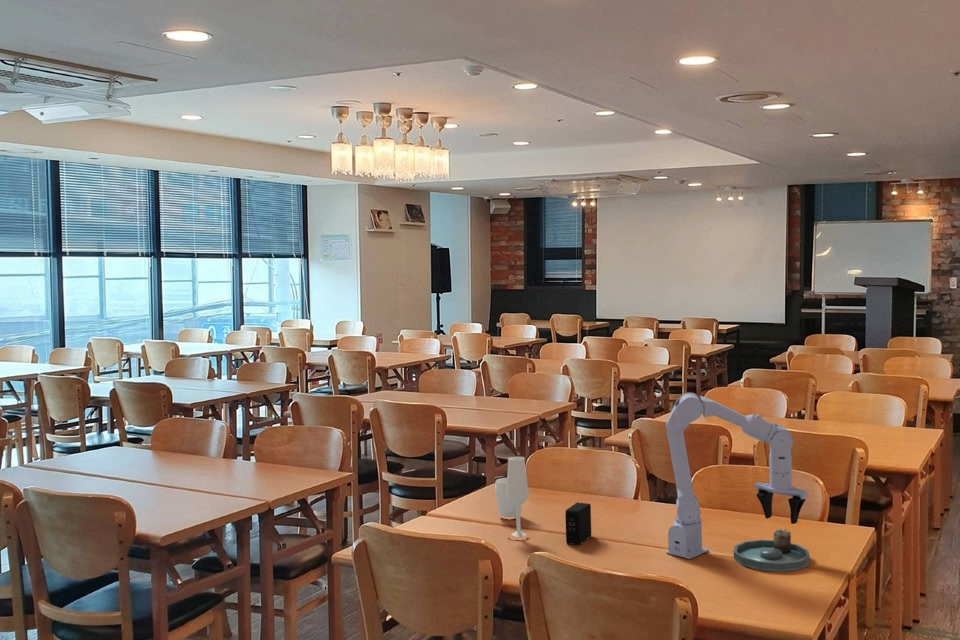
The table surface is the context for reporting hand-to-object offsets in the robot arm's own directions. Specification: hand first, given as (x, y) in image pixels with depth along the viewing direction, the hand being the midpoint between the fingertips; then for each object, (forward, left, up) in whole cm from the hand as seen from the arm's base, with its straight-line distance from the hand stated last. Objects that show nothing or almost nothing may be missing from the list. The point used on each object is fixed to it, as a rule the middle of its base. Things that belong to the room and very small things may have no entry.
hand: (781, 520), depth 247 cm
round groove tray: (-6, 0, -9) cm, 11 cm away
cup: (-24, +82, -10) cm, 86 cm away
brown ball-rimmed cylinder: (0, 0, -9) cm, 9 cm away
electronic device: (-27, +50, -10) cm, 57 cm away
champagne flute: (-37, +65, -10) cm, 75 cm away
